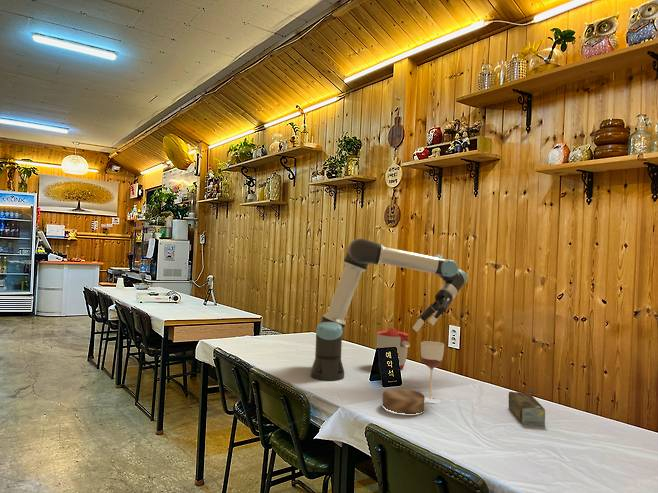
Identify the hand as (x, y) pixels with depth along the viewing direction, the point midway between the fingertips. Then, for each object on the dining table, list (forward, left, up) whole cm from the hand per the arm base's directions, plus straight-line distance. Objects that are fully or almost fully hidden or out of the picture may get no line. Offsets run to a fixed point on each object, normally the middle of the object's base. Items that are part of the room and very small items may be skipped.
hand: (422, 326), depth 217 cm
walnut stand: (-21, -37, -24) cm, 49 cm away
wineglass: (-7, -28, -24) cm, 38 cm away
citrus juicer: (-6, +24, -24) cm, 35 cm away
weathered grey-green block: (+22, -47, -25) cm, 57 cm away
